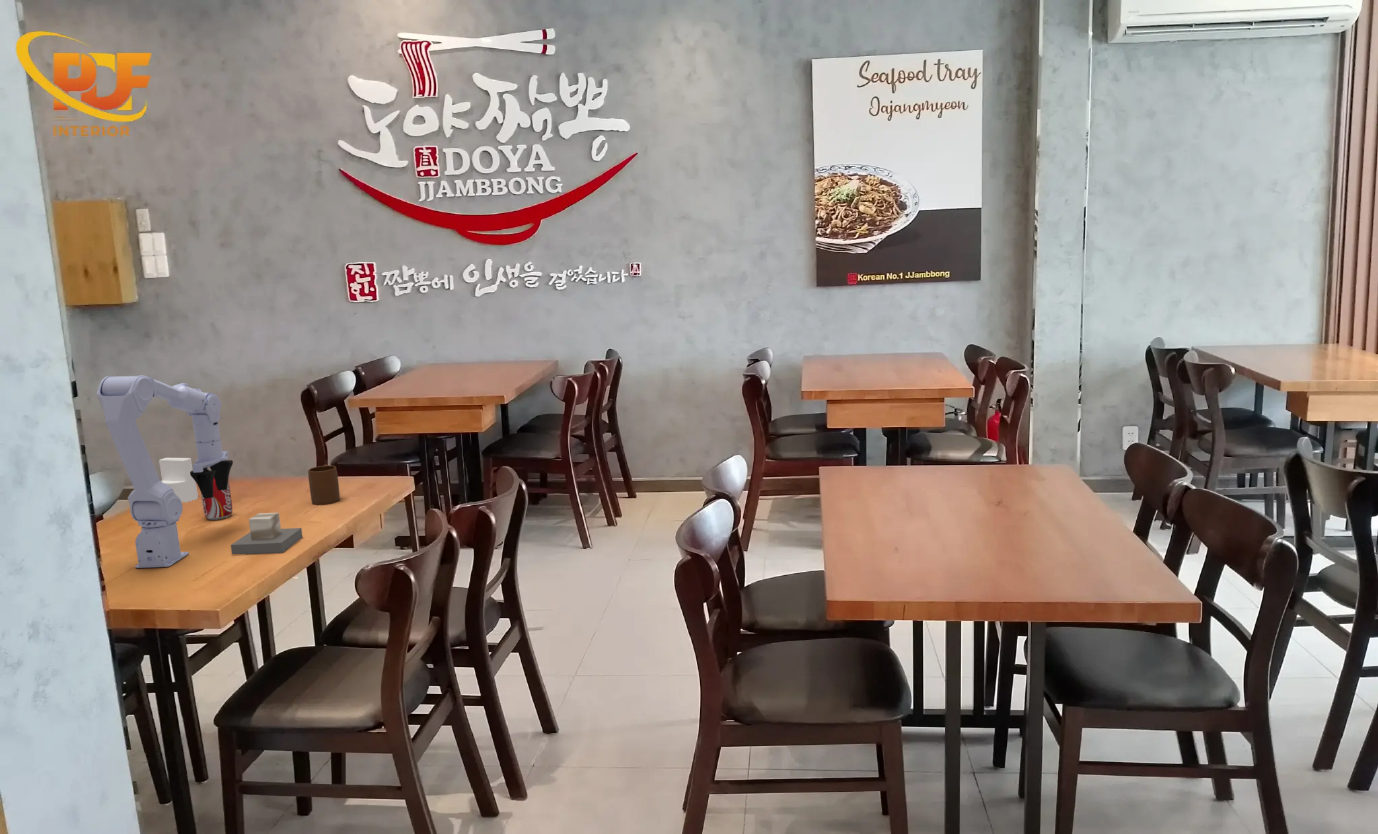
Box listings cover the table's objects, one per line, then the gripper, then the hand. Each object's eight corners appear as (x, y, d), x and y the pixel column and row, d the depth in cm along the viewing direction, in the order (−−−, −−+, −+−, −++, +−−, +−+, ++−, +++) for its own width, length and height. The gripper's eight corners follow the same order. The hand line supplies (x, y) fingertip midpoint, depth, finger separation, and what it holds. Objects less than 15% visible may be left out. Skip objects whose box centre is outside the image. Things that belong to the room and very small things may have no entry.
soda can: (222, 521, 270) (216, 476, 268) (198, 521, 272) (192, 476, 270) (239, 513, 277) (233, 470, 275) (215, 513, 279) (209, 470, 276)
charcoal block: (282, 555, 240) (281, 542, 240) (232, 557, 241) (230, 545, 240) (302, 539, 252) (301, 527, 252) (254, 541, 253) (253, 530, 252)
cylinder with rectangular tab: (156, 503, 293) (150, 462, 291) (180, 495, 301) (174, 455, 299) (181, 504, 290) (175, 463, 288) (205, 496, 299) (199, 455, 296)
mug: (316, 495, 293) (312, 463, 291) (344, 492, 294) (340, 460, 292) (309, 506, 281) (305, 472, 279) (338, 503, 283) (334, 470, 281)
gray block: (271, 538, 244) (269, 518, 243) (251, 539, 244) (248, 519, 243) (281, 532, 248) (278, 512, 248) (261, 533, 249) (258, 513, 248)
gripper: (210, 446, 247) (217, 500, 249) (237, 433, 261) (244, 485, 264) (181, 447, 247) (189, 502, 250) (209, 435, 261) (217, 486, 264)
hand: (215, 493), depth 257 cm, fingers open, 7 cm apart
